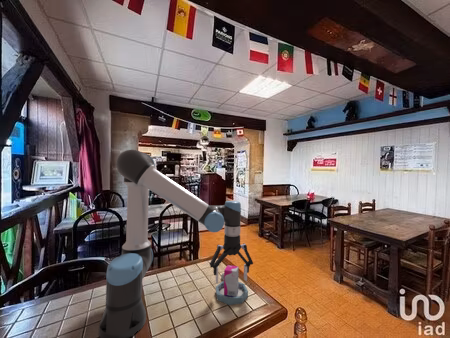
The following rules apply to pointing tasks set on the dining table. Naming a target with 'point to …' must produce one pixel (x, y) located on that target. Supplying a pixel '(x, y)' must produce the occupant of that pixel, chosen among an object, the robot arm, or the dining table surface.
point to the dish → (232, 300)
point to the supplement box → (231, 281)
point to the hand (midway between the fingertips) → (231, 280)
